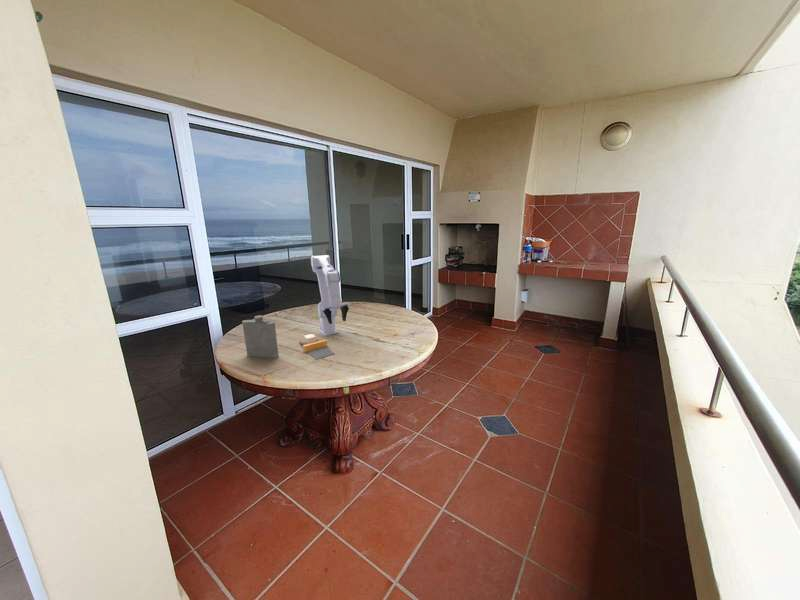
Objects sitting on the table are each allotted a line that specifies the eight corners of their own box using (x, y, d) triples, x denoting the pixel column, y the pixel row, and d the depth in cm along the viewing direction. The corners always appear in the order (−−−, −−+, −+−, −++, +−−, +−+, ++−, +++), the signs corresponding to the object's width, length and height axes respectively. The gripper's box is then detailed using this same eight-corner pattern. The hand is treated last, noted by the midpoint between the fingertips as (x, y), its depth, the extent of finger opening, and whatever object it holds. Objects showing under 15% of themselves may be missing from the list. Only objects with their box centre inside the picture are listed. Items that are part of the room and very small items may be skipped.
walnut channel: (299, 343, 167) (299, 340, 167) (314, 339, 172) (314, 336, 172) (306, 350, 160) (306, 346, 159) (322, 345, 165) (322, 342, 164)
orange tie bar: (303, 351, 158) (302, 345, 158) (325, 344, 165) (325, 339, 165) (304, 352, 157) (304, 346, 156) (327, 345, 164) (326, 340, 163)
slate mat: (307, 352, 157) (307, 352, 157) (326, 347, 163) (326, 346, 163) (315, 360, 149) (315, 359, 149) (335, 354, 155) (335, 353, 155)
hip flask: (245, 356, 154) (239, 316, 148) (251, 352, 157) (245, 314, 152) (276, 358, 151) (271, 318, 145) (280, 354, 155) (276, 315, 149)
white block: (304, 344, 166) (304, 335, 165) (313, 342, 169) (312, 333, 168) (308, 347, 163) (307, 338, 162) (316, 345, 166) (315, 336, 164)
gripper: (324, 298, 152) (327, 325, 154) (351, 294, 161) (353, 320, 163) (318, 297, 158) (321, 324, 160) (344, 293, 166) (347, 319, 168)
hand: (337, 322), depth 161 cm, fingers open, 7 cm apart
